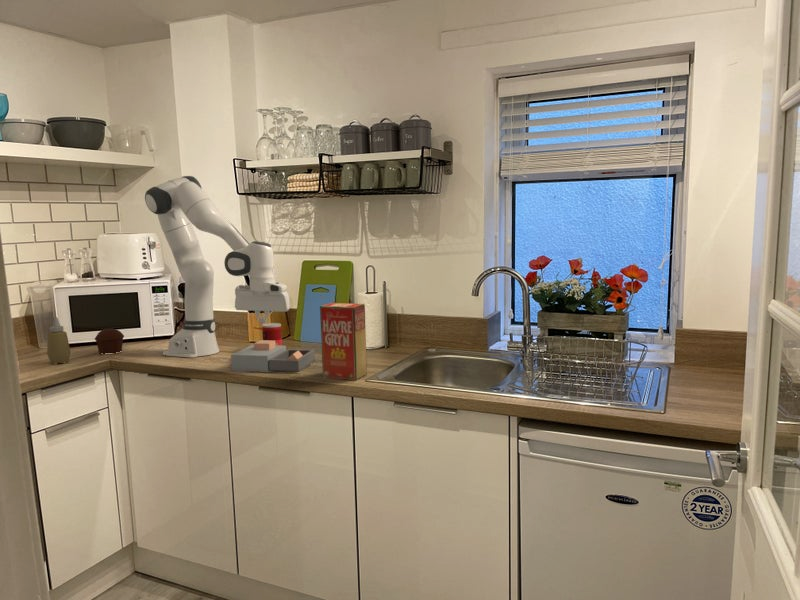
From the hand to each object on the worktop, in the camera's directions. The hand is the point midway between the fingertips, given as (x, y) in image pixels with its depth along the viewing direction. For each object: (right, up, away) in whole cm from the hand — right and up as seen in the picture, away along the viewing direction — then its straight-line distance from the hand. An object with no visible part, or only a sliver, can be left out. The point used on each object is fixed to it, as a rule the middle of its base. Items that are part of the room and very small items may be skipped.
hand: (262, 322), depth 228 cm
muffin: (-71, -14, +31) cm, 79 cm away
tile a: (+11, -12, -6) cm, 18 cm away
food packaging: (+32, -18, -16) cm, 40 cm away
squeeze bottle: (-83, -16, +13) cm, 85 cm away
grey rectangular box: (-1, -16, +2) cm, 16 cm away
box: (+12, -16, -1) cm, 20 cm away
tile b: (0, -10, +4) cm, 11 cm away
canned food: (-2, -13, +29) cm, 32 cm away
